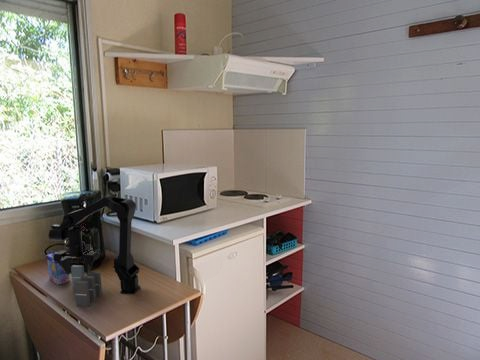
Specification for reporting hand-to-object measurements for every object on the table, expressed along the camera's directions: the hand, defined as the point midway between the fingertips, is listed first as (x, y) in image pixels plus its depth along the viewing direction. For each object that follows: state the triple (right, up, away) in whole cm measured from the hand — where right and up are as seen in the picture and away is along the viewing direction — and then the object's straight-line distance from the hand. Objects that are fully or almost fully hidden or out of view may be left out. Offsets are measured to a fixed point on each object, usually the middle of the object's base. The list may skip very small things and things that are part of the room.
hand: (78, 274), depth 154 cm
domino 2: (+9, -8, -15) cm, 19 cm away
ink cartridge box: (-13, -5, +9) cm, 17 cm away
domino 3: (+9, -8, -10) cm, 16 cm away
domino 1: (0, -6, +1) cm, 6 cm away
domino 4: (+10, -7, -6) cm, 14 cm away
